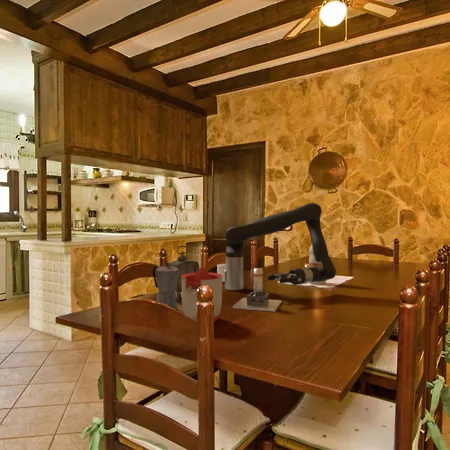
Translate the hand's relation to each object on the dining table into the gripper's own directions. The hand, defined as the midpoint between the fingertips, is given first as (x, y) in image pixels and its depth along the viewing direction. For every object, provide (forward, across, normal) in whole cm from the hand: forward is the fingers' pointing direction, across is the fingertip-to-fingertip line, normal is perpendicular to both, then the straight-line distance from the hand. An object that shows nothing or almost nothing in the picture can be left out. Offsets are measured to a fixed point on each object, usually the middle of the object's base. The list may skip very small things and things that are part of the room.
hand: (273, 279), depth 162 cm
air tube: (+9, 0, +10) cm, 13 cm away
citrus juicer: (+41, +7, +11) cm, 43 cm away
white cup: (-8, -56, +11) cm, 58 cm away
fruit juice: (-50, -23, +11) cm, 56 cm away
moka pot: (+46, -14, +11) cm, 49 cm away
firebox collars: (+9, 0, +10) cm, 14 cm away
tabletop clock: (+30, -32, +11) cm, 45 cm away
